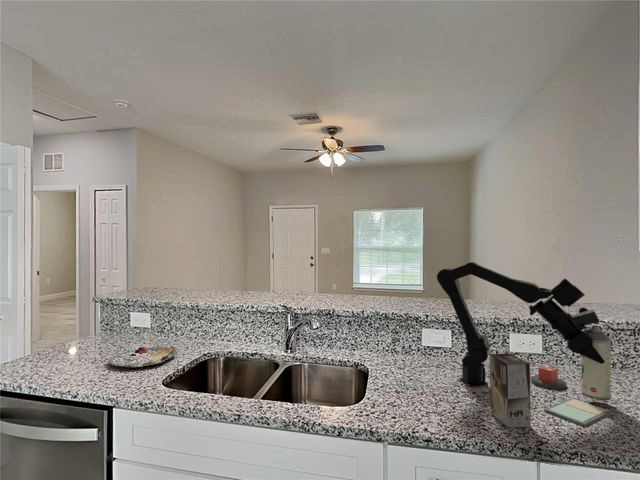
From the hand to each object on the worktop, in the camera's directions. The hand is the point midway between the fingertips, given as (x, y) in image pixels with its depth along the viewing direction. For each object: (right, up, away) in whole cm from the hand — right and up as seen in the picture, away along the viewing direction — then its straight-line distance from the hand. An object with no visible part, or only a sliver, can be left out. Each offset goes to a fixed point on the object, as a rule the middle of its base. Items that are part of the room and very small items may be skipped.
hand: (601, 359), depth 107 cm
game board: (-10, -13, -5) cm, 17 cm away
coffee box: (-31, -13, -8) cm, 35 cm away
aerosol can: (-1, -11, +1) cm, 11 cm away
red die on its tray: (-6, -13, +16) cm, 21 cm away
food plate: (-152, -15, +44) cm, 159 cm away
